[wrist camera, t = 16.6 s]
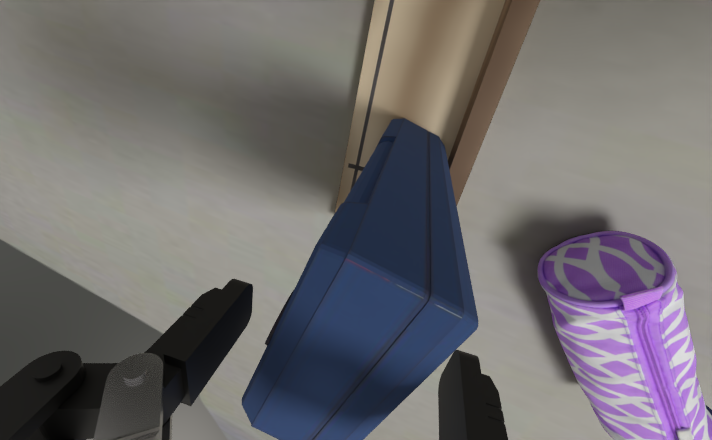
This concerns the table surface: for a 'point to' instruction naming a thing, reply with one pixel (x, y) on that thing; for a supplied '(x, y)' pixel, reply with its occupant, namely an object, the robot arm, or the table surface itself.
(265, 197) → the table surface
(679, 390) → the pencil case
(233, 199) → the table surface
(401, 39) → the guide board
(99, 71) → the table surface
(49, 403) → the robot arm
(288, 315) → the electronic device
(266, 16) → the table surface
